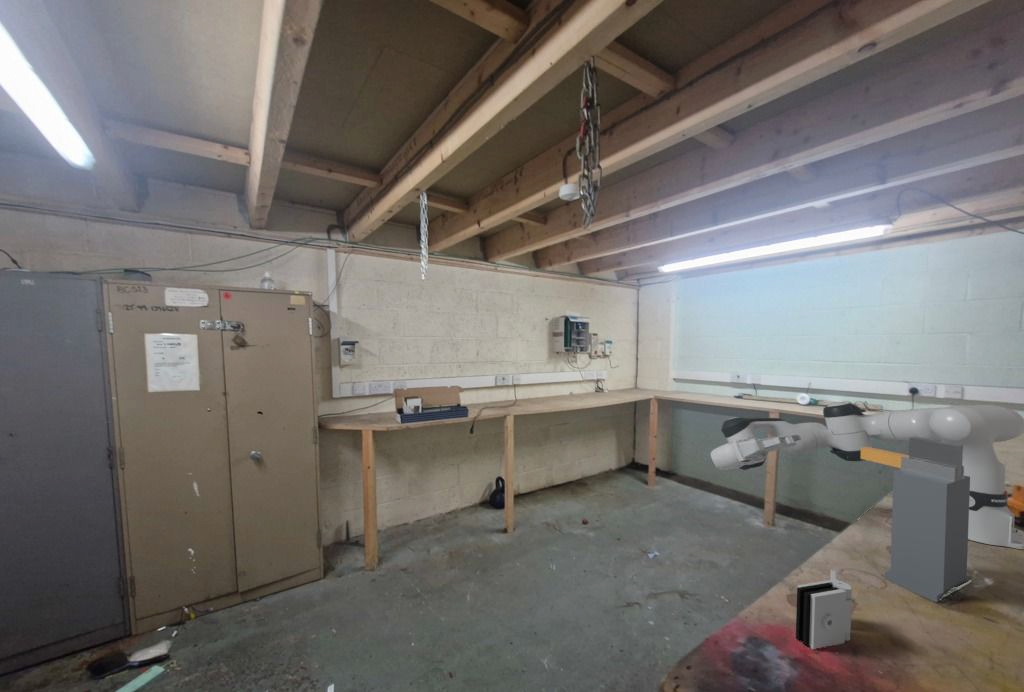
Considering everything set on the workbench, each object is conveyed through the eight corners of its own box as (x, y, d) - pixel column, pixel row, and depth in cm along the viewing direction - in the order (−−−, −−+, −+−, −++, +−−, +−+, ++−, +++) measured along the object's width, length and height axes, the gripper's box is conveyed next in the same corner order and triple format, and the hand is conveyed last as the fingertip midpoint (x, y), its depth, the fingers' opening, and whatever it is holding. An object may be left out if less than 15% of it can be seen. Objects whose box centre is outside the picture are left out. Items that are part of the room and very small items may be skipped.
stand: (919, 562, 99) (923, 452, 99) (971, 582, 91) (976, 462, 90) (883, 578, 92) (887, 460, 92) (936, 602, 84) (941, 472, 83)
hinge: (829, 616, 79) (831, 568, 79) (862, 634, 74) (864, 584, 74) (791, 637, 73) (793, 586, 73) (823, 659, 68) (825, 604, 68)
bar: (866, 457, 104) (867, 428, 103) (961, 479, 88) (962, 445, 87) (860, 458, 102) (861, 429, 102) (956, 481, 86) (957, 446, 86)
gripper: (775, 455, 133) (814, 444, 122) (736, 462, 125) (774, 451, 114) (767, 437, 136) (804, 425, 125) (728, 443, 128) (764, 431, 117)
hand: (790, 438), depth 119 cm, fingers open, 8 cm apart
